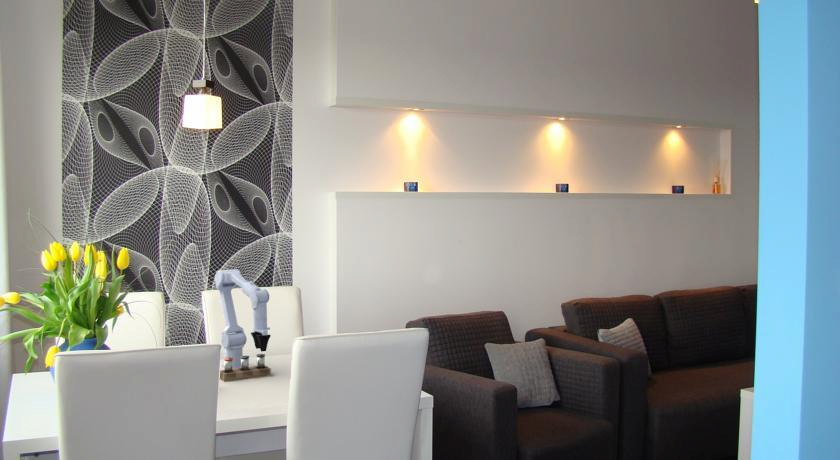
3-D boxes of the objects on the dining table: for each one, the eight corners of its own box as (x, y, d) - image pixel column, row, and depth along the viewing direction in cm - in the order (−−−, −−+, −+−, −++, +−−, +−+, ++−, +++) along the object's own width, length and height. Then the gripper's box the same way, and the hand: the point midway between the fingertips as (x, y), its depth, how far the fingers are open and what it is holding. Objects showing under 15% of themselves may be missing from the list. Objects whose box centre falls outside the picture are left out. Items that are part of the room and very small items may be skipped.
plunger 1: (239, 369, 310) (239, 356, 310) (247, 368, 312) (247, 355, 312) (242, 370, 307) (241, 357, 307) (250, 369, 309) (250, 356, 309)
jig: (218, 377, 308) (218, 370, 308) (264, 371, 318) (264, 365, 318) (224, 381, 301) (224, 374, 301) (270, 375, 311) (270, 368, 311)
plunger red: (223, 371, 306) (222, 358, 306) (231, 370, 308) (231, 357, 308) (225, 373, 303) (225, 359, 303) (234, 371, 305) (233, 358, 305)
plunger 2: (255, 367, 314) (255, 354, 313) (263, 366, 315) (263, 353, 315) (258, 368, 310) (258, 355, 310) (266, 367, 312) (266, 355, 312)
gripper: (274, 319, 307) (275, 351, 308) (264, 315, 320) (265, 346, 321) (257, 320, 304) (258, 353, 304) (248, 316, 317) (249, 347, 317)
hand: (260, 349), depth 312 cm, fingers open, 7 cm apart
